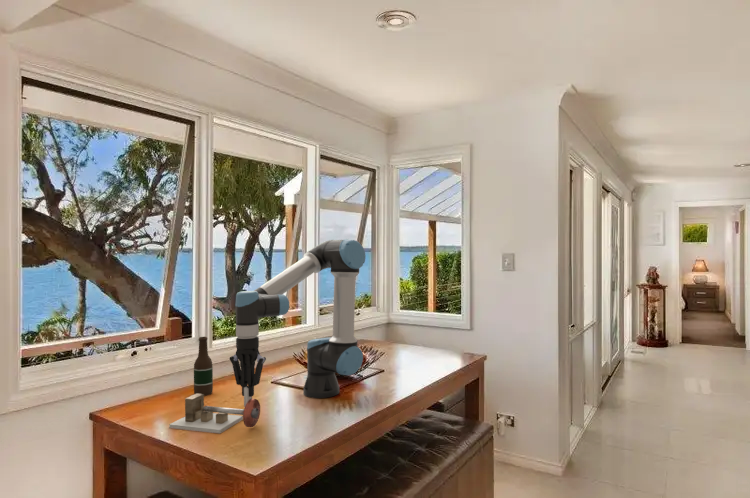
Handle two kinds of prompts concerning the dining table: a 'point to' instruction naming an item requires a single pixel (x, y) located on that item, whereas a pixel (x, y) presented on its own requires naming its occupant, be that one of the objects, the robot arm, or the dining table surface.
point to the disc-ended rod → (241, 412)
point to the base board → (206, 424)
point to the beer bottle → (203, 370)
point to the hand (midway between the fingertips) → (248, 405)
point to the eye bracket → (200, 410)
